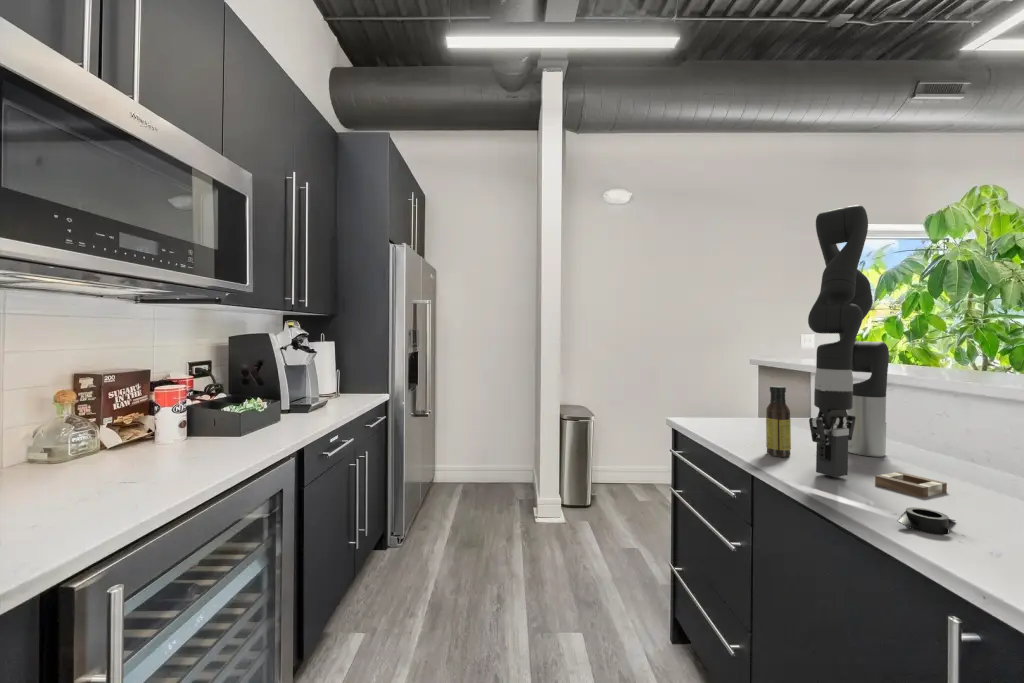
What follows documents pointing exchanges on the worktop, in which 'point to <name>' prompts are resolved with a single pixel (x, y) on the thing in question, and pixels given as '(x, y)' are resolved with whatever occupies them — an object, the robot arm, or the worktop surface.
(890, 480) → the wooden rectangular frame
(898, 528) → the worktop surface
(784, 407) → the sauce bottle
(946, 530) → the duct tape
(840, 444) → the dark grey upright block
